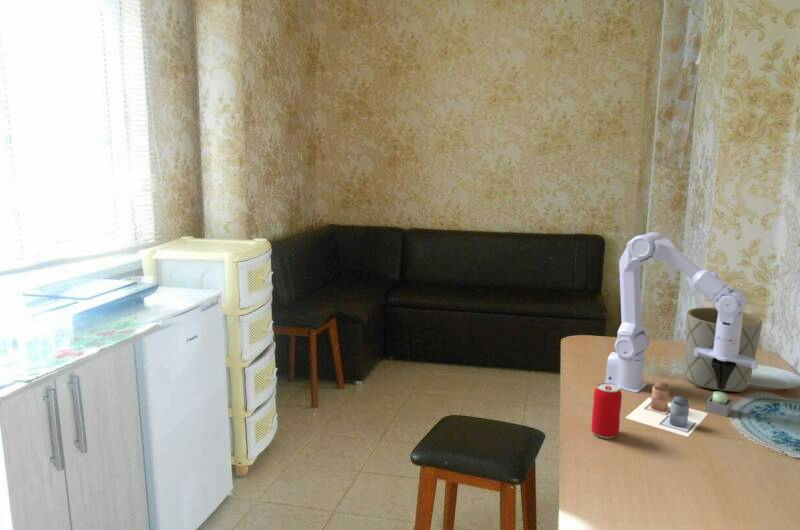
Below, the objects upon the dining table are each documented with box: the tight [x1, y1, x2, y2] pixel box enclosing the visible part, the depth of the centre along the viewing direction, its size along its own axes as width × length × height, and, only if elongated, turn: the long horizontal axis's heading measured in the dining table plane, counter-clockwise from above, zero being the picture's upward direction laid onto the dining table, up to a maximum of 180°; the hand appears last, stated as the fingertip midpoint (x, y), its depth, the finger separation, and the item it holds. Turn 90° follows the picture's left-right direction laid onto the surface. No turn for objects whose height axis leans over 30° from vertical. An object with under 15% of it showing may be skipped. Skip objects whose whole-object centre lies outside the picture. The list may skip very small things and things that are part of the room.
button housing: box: [704, 394, 734, 418], centre depth 161 cm, size 5×5×3 cm
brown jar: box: [651, 381, 670, 411], centre depth 162 cm, size 4×4×6 cm
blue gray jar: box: [669, 396, 690, 428], centre depth 153 cm, size 4×4×6 cm
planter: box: [683, 306, 763, 393], centre depth 179 cm, size 19×19×20 cm
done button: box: [712, 390, 729, 405], centre depth 161 cm, size 3×3×3 cm
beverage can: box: [590, 382, 623, 439], centre depth 147 cm, size 6×6×12 cm
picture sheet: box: [625, 397, 709, 438], centre depth 158 cm, size 15×17×1 cm
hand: (721, 388), depth 160 cm, fingers closed
